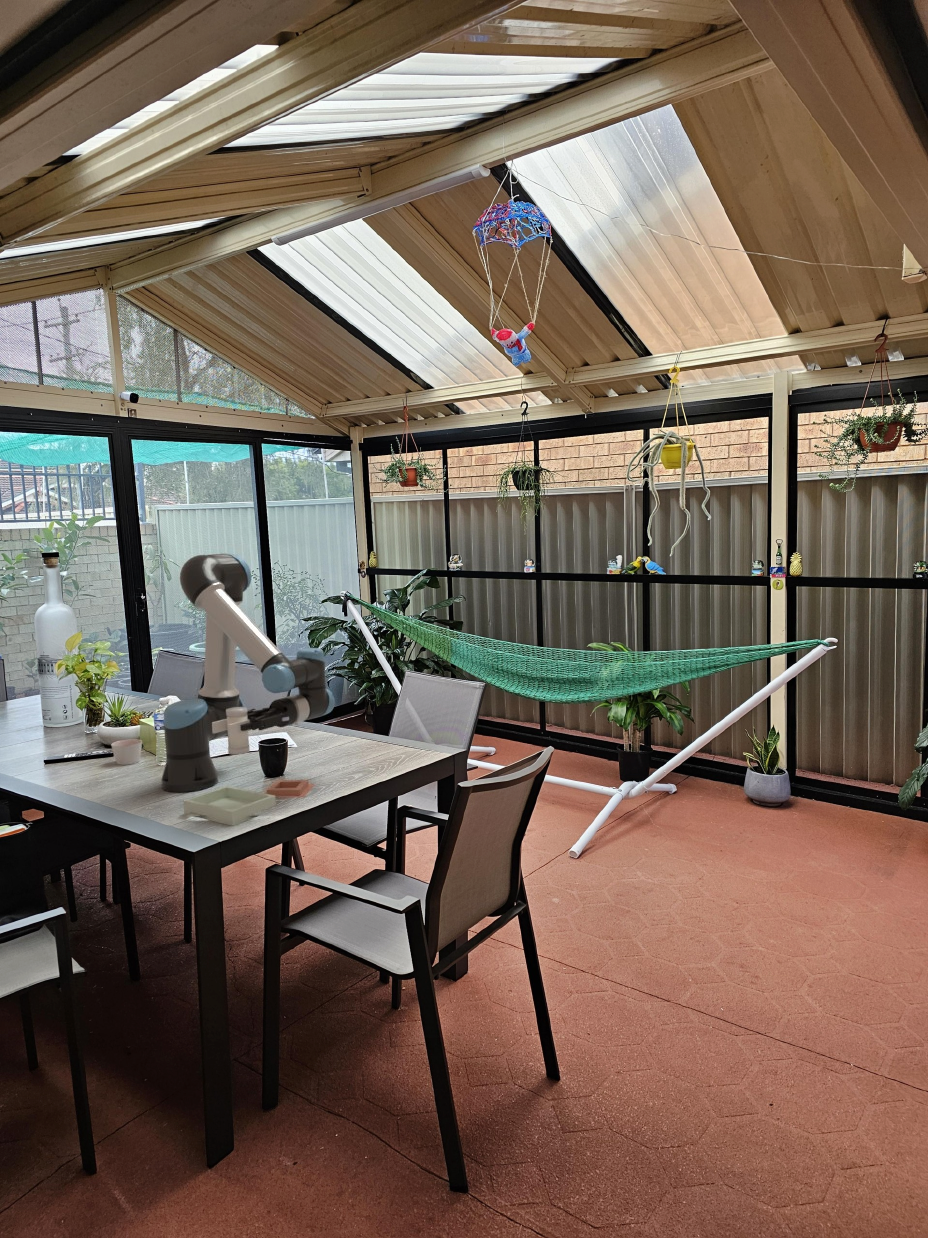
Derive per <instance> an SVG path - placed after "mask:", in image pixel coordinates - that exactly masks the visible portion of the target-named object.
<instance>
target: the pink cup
mask: <svg viewBox="0 0 928 1238" xmlns="http://www.w3.org/2000/svg"><path fill="white" fill-rule="evenodd" d="M110 745H111V750H112V753H113V757H114V760H115V763H116V765H118V766H119V765H120V766H129V765H134V764H137V763H139V762H140V761H141V756H142V755H141V754H142V746H143V740H142V739H138V738H137V739H136V738H133V739H130V738H129V739H123V740H117V741H115V742H112V743H111V744H110Z"/></svg>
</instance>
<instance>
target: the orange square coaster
mask: <svg viewBox="0 0 928 1238" xmlns="http://www.w3.org/2000/svg"><path fill="white" fill-rule="evenodd" d="M315 785H316V783H309V779H291V780H290V779H287V780H286V779H285V780H284V779H283V780H282V779H279V780H275V781H274V782H273V783H272V784H271V785H270V786H269V787H268V788H267V789H266V790H265V791H264V792H263V793H265V794H270V795H275V798H280V799H281V798H305V797H306V796H307V794H309V792H310V791H311V790H312V789H313V788H314V787H315Z"/></svg>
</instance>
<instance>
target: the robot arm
mask: <svg viewBox="0 0 928 1238" xmlns="http://www.w3.org/2000/svg"><path fill="white" fill-rule="evenodd" d="M179 572H180V574H179V581H180V582H179V583H180V585H181V589H182V591H183V593H184V595H185V597H186V598H187V599H188V601H189V602H191V604H192V605H193V606H194V607H195V609H197V610H203V612H205V642H204V643H205V646H204V647H205V648H204V674H203V675H204V678H203V679H204V680H203V681H204V682H203V684H204V685H203V687H202V688H200V690H198V698H187V699H184V700H178V701H176V702H172V703H171V704H169V705H167V706H166V707H165V708H164V710H163V729H164V730H163V732H164V740H165V741H164V742H165V754H166V756H165V757H166V760H165V765H164V769H163V772H162V777H161V782H160V783H161V789H163V790H164V791H166V792H171V793H172V792H173V793H184V792H186V793H187V792H194V791H200V790H204V789H208V788H210V787H212V786H215V785H217V783H218V782H219V776H218V771H217V769H216V767H215V764H214V762H213V760H212V757H211V755H210V754H211V752H210V751H211V750H210V742H211V741H214V740H216V739H219V738H224V737H228V736H232V735H235V734H239V733H243V732H246V731H248V732H249V731H251V730H252V731H256V730H258V731H263V730H268V729H270V728H273V727H278V728H284V727H288V726H292V725H295V726H296V725H297V726H298V725H299V723H302V722H304V721H307V720H313V719H316V718H321V717H323V716H325V715H328V714H329V713H331V712H332V711H333V709H334V707H335V703H336V700H335V697H334V694H333V692H332V691H331V690H330V689H329V688H327V687H326V684H327V683H326V661H325V654H324V653H325V652H324V651H323V649H322V648H320V647H319V648H318V647H308V648H300V649H298V650H297V652H296V657H295V659H292V660H291V659H288V657H287V656H286V655H285V654H284V653H283V652H282V651H281V650H280V649H279V648H278V646H276V645H275V644H274V642H272V640H270V638H269V637H268V636H267V635H266V634H265V633H264V631H262V629H260V628H259V626H257V624H256V623H255V622H254V621H253V620H252V619H251V618H250V617H249V616H248V615H247V614H246V612H245V611H243V609H242V608H241V607H240V604H242V603H243V600H244V599H243V598H244V592H246V591H247V589H248V588H249V587H250V585H251V582H252V572H251V568H250V566H249V565H248V563H247V561H246V560H245V559H244V558H242V557H241V556H239V555H238V554H231V553H214V554H198V555H195V556H194V555H193V557H191V558H189V559H188V560H186V562H184V563H183V566H182V567H181V570H180V571H179ZM236 647H237V648H238V649H239V650H240V651H241V652H242V653H243V654H244V655H245V657H246V658H247V659H248V660H249V661H250V662H251V663H252V664H253V665H254V666H255V668H257V670H259V671H260V673H261V681H262V684H263V687H264V688H265V690H266V691H268V692H269V693H273V694H280V693H286V692H289V691H291V690H293V689H297V688H298V694H297V693H296V694H294V695H293V694H292V695H289V696H288V695H287V696H286V697H283V698H281V697H280V698H279V699H274V700H273V701H271V703H270V704H269V706H268V707H263V708H262V709H261V708H260V709H256V708H251V709H249V710H247V711H248V714H247V719H248V720H244V721H240V722H236V723H233V724H229V725H228V730H227V716H226V709H228V708H233V707H246V708H247V706H246V704H245V702H244V700H243V698H241V696H240V691H239V690H238V689H237V687H236V686H235V682H236V681H235V678H236V677H235V675H236V672H235V671H236V651H237V649H236Z"/></svg>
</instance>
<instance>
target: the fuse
mask: <svg viewBox="0 0 928 1238" xmlns="http://www.w3.org/2000/svg"><path fill="white" fill-rule="evenodd" d="M248 711H249V710H248V707H247V706H246V707H233V708H228V709H226V716H227V730H228V725H229V724H233V723H236V722H240V721H244V720H248V719H247V714H248ZM249 742H250V740H249V731H246V732H243V733H239V734H235V735H232V736H227V744H228V745H227V746H228V747H227V750H228V754H229V755H235V756H236V755H244V754H248V753H249V752H250V751H251V749H250V743H249Z"/></svg>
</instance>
